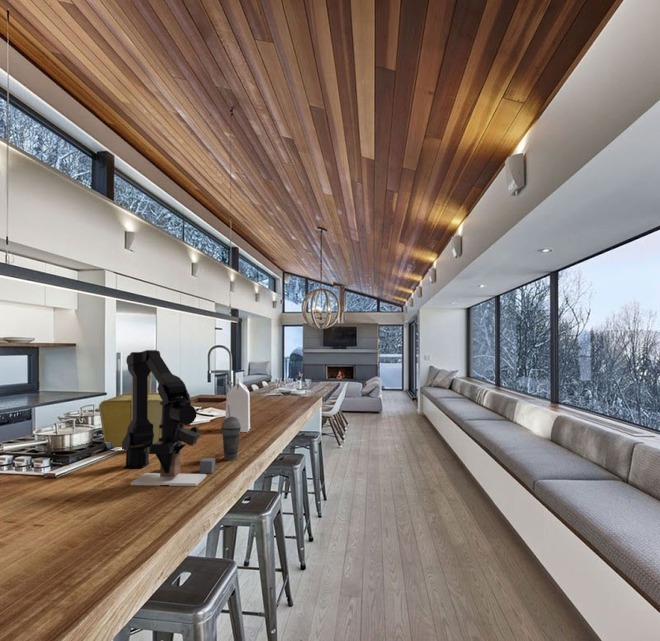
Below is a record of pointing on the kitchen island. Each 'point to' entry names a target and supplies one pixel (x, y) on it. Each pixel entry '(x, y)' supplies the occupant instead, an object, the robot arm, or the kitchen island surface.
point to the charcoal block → (207, 465)
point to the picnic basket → (128, 416)
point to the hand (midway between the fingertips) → (169, 470)
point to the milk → (239, 405)
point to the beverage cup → (230, 436)
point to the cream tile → (169, 479)
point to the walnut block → (172, 467)
